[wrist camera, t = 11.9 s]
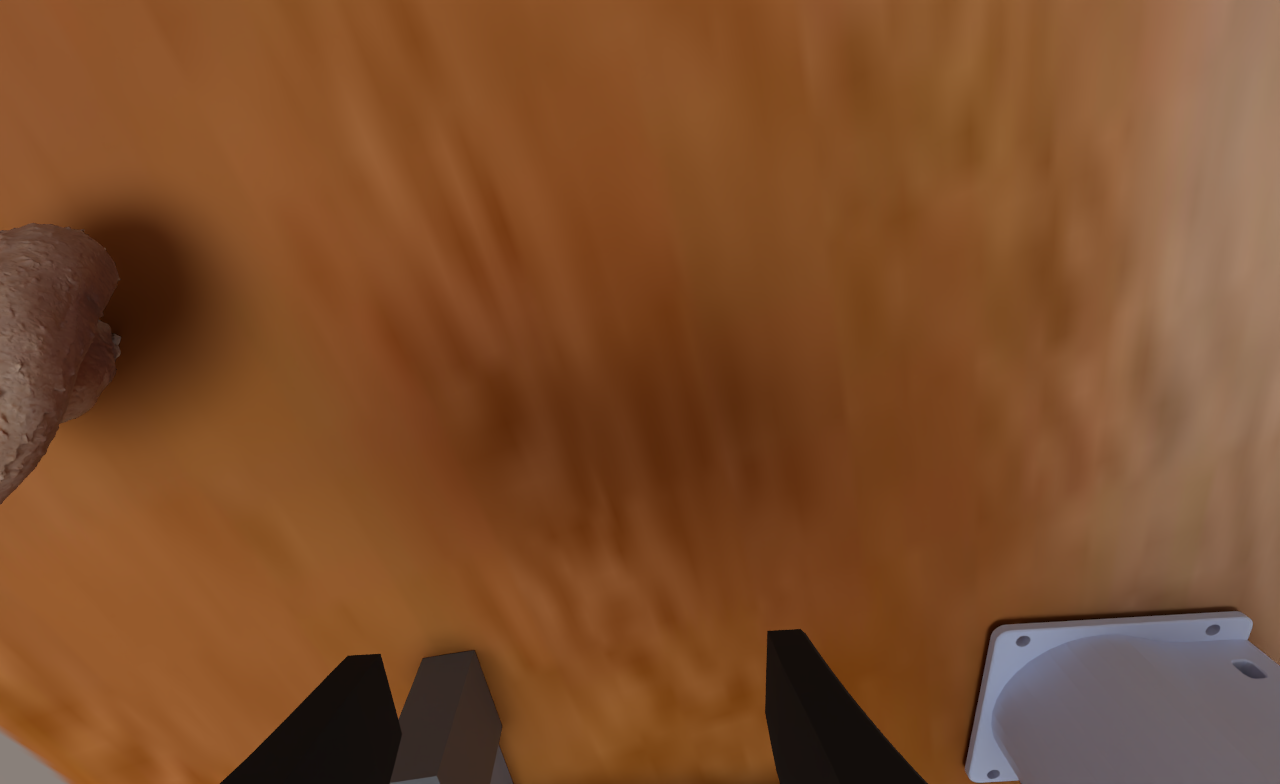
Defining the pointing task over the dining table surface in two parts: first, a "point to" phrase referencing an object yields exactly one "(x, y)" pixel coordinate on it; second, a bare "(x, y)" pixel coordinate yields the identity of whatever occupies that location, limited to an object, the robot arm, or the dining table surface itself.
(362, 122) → the dining table surface
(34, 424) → the mushroom
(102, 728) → the dining table surface
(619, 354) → the dining table surface
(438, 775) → the scraper
